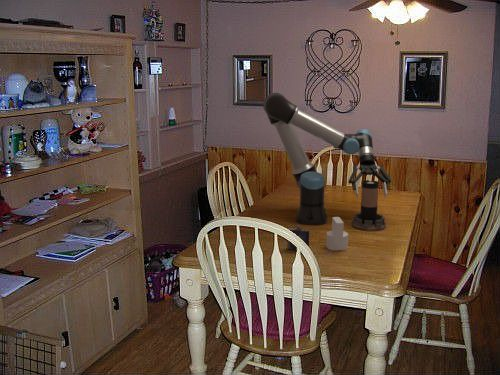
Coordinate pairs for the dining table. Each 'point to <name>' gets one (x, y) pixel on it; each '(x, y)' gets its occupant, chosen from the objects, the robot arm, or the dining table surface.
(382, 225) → the ring collar holder
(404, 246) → the dining table surface
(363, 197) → the travel mug
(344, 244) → the base with upright slab
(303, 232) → the flask
